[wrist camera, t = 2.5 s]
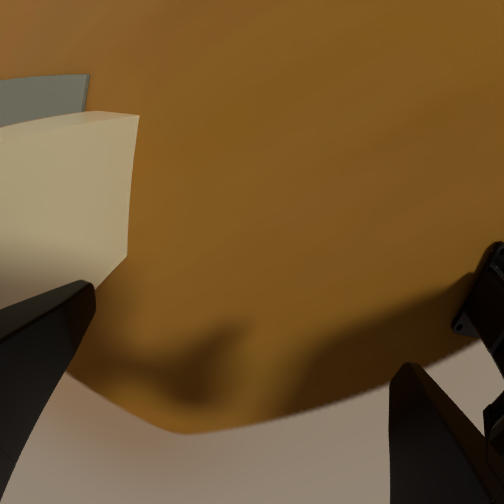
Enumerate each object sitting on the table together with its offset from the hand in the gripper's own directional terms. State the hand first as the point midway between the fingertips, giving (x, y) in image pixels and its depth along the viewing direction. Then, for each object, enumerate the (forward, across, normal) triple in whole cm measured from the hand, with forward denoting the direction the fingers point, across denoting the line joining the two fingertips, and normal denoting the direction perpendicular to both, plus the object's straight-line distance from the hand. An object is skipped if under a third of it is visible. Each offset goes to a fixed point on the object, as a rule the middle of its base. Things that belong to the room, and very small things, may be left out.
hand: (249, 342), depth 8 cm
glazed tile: (+8, +9, 0) cm, 12 cm away
